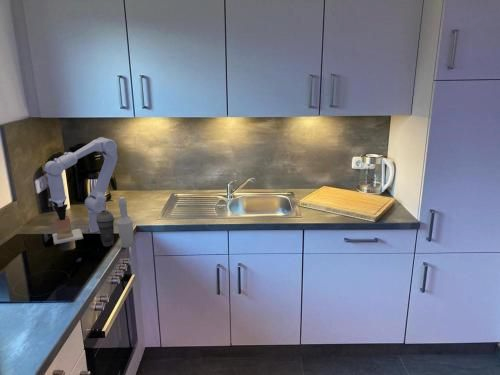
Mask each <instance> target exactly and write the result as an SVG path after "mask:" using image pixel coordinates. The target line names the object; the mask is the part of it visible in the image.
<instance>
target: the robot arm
mask: <svg viewBox="0 0 500 375" xmlns="http://www.w3.org/2000/svg"><path fill="white" fill-rule="evenodd" d="M117 150H118V145H117V143H116V141H114V140H113V139H111V138H106V137H103V136H99V137H98V138H96V139H93V140H92V141H90V142H89V143H87V144H86V145H84V146H82V147H81V148H79V149H77V150H76V151H74V152H72V151H69V152H67V151H65V152H64V153H63V155H61V156H59V157H58V158H57V157H55V158H54V159H53V160H49V161H47V162H46V163H45V165H44V168H43V169H44V171H45V172H46V174H47V181H48V186H49V192H50V198H48V202H51V203H53V205H52V207H53V209H54V210H55V213H57V216H58V217H57V218H59V219H60V220H65V217H66V216H67V213H66V212H67V209H68V208H67V207H68V204H67V203H66V200H67V196H66V191H65V185H64V180H63V172H64V171H66V170H67V169H68V168H70V167H72V166H74V165H76V164H77V163H78V160H79V159H81V158H83V157H85V156H88V155H89V154H91V153H94V152H100V153H101V154H102V156H103V158H104V161H103V164H102V165H101V169H100V171H99V174H98V176H97V179H96V182H95V185H94V188H93V190H92V191H90V192H89V194H88V196H87V197H86V198H85V200H84V206H85V207H86V208H87V214H88V222H89V226H88V229H89V232H90V233H91V234H93V233H97V232H100V230H99V226H98V224H97V222H96V220H97V215H98V214H99V213H100V212H101V211H104V210H105V201H106V202H107V196H106V191H107V190H108V187H109V184H110V181H111V179H112V177H113V173H114V170H115V168H116V165H117V162H118V159H119V158H118V157H119V156H118V151H117ZM65 203H66V204H65ZM106 211H109V209H108V208H106Z"/></svg>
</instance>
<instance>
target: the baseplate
mask: <svg viewBox="0 0 500 375" xmlns="http://www.w3.org/2000/svg"><path fill="white" fill-rule="evenodd" d="M71 231H72V237H67V238H62V239H58V237H57V232H55V233H52V238H53V244H54V245H57V244H63V243H69V242H73V241H77V240H78V241H79V240H83V239H84V236H83V232H82V230H81V228H77V229H71Z"/></svg>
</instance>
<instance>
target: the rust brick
mask: <svg viewBox="0 0 500 375" xmlns="http://www.w3.org/2000/svg"><path fill="white" fill-rule="evenodd" d="M53 220H54V225H55V230H61V229H66V228H71V229H72V226H71V220H70V215H66V217H65V220H60V219H59V217H54V218H53Z"/></svg>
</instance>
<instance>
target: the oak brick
mask: <svg viewBox="0 0 500 375" xmlns="http://www.w3.org/2000/svg"><path fill="white" fill-rule="evenodd" d="M55 230H56V229H55ZM71 230H72V227H71V228H66V229H61V230H56V232H55V233H57V237H58V239H62V238H67V237H72V231H71Z"/></svg>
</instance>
